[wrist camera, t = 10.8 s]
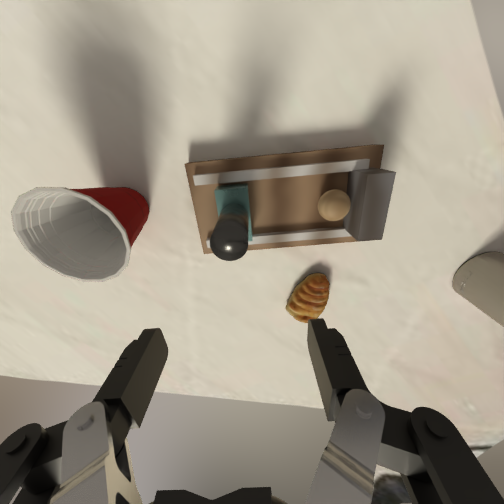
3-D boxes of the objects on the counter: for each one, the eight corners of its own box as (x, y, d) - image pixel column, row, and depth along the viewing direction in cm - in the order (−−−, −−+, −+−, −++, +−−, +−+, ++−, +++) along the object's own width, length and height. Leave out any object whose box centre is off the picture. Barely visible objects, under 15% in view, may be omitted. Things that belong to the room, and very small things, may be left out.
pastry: (300, 266, 37) (305, 279, 34) (336, 274, 38) (345, 287, 35) (283, 307, 41) (286, 321, 38) (315, 313, 42) (321, 328, 39)
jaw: (247, 183, 28) (246, 205, 18) (252, 232, 31) (253, 273, 22) (217, 185, 28) (200, 209, 19) (225, 234, 32) (214, 276, 22)
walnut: (344, 185, 29) (358, 191, 25) (341, 214, 31) (353, 223, 27) (314, 188, 29) (324, 194, 25) (313, 216, 31) (321, 226, 27)
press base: (375, 144, 28) (411, 145, 22) (361, 235, 34) (386, 256, 28) (188, 162, 29) (171, 168, 23) (206, 248, 35) (196, 271, 29)
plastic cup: (113, 246, 35) (53, 293, 24) (76, 177, 30) (-19, 198, 19) (177, 235, 34) (144, 278, 23) (151, 163, 29) (94, 175, 18)
